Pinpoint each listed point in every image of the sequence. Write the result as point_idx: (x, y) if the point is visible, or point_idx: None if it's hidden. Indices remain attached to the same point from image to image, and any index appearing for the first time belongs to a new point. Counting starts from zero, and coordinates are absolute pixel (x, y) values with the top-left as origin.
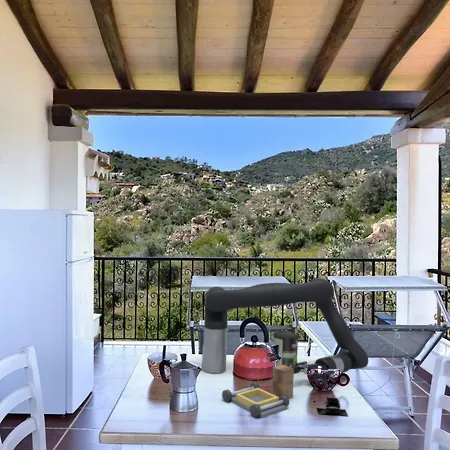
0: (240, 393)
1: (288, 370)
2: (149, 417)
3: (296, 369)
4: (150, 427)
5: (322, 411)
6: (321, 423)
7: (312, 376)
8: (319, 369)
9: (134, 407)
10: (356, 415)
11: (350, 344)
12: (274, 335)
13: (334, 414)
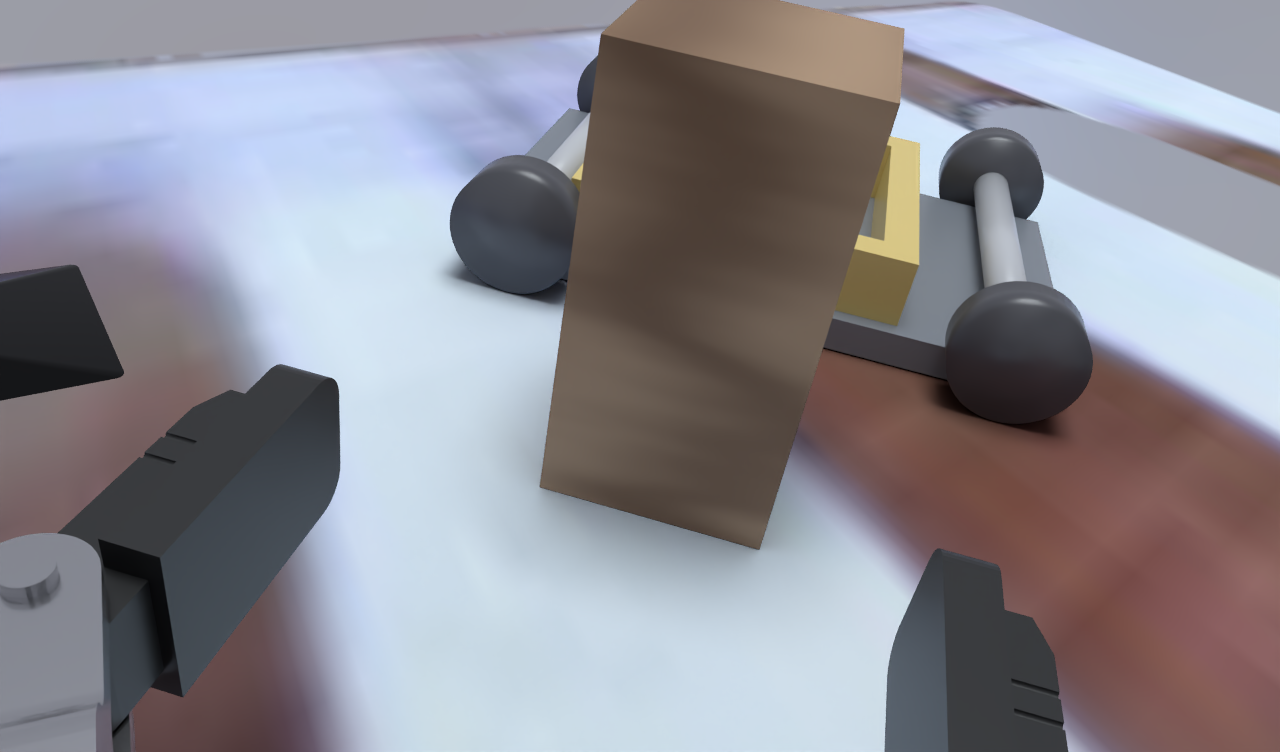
0: (907, 156)
1: (637, 5)
2: (1013, 59)
3: (921, 710)
4: (917, 25)
5: (21, 308)
6: (37, 169)
7: (243, 394)
8: (5, 732)
9: (1163, 91)
10: None
11: None
12: None
13: None
